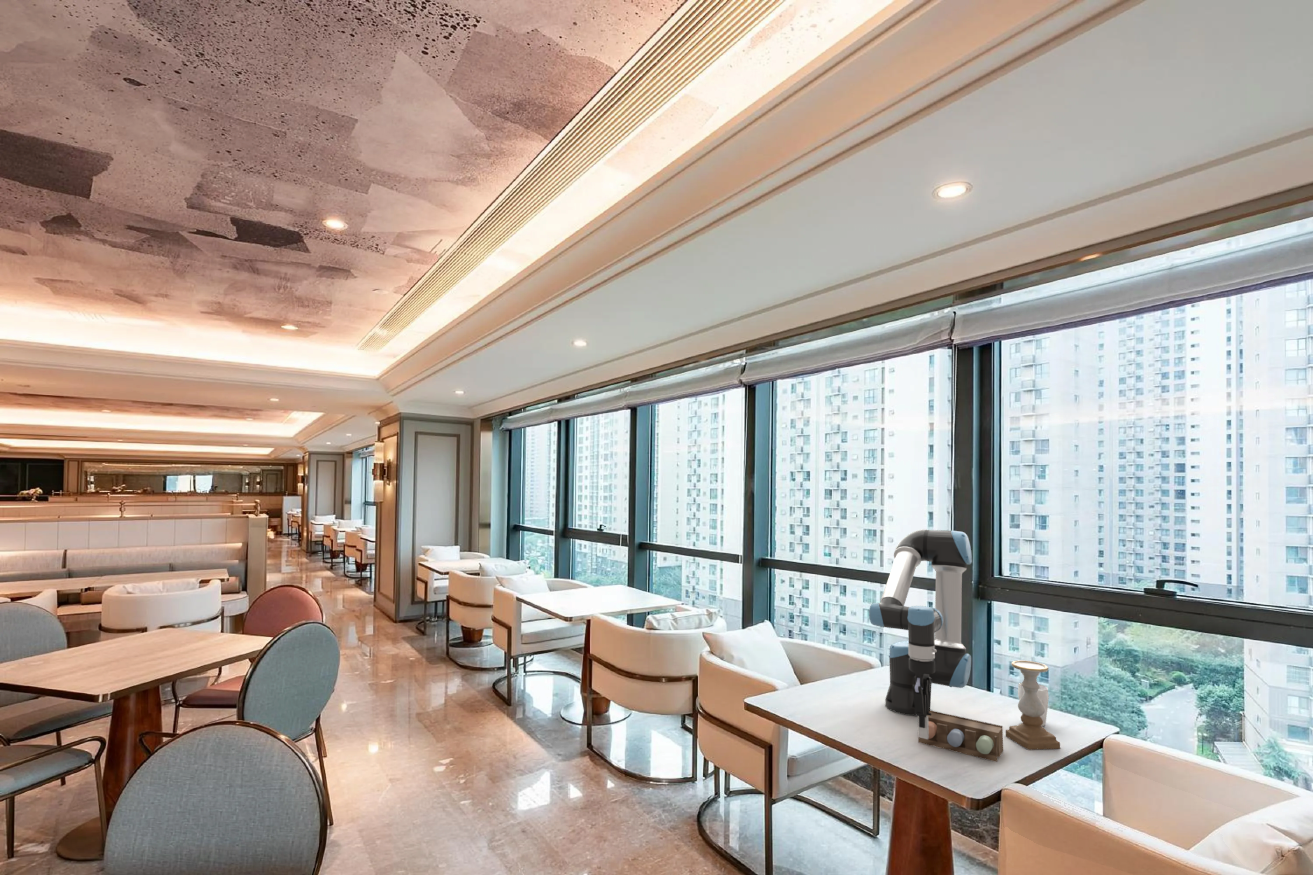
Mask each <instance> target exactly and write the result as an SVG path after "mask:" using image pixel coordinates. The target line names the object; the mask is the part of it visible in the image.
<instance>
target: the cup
mask: <svg viewBox="0 0 1313 875" xmlns="http://www.w3.org/2000/svg"><path fill="white" fill-rule="evenodd" d="M1021 683H1022V682H1020V683H1018V685H1017V687H1018V688H1017V695H1018V700H1019V701H1020V699H1021V698H1022V697H1023V695H1024V693H1025V691H1024V688H1023V686H1022V685H1021ZM1038 684H1039V683H1038ZM1039 686H1040V688H1039V689H1038V691H1037V696H1038V698H1039V699H1040V701H1041V702H1042V704H1043V706H1044V709H1045V712H1044V714H1043V715H1041V716H1040V717H1041V718H1042V720H1043V724H1042V725H1041V726H1042V727H1043V726H1046V723H1047V714H1048V710H1049V709H1048V708H1049V699H1050V697H1049V689H1048V688H1049V687H1047V686H1045V685H1043V684H1039ZM1019 701H1018V702H1019ZM1022 714H1023V713H1022V712H1021V715H1022Z"/></svg>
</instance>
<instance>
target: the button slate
mask: <svg viewBox="0 0 1313 875" xmlns="http://www.w3.org/2000/svg"><path fill="white" fill-rule="evenodd" d="M947 741H948V743H949V744H950V745H951V746H953V747H958V746H960V745H961V743H962V742H963V741H964V734H963V733H962V731H960V730H959V729H953V730H952V731H951V732H950V733H949V734H948V736H947Z"/></svg>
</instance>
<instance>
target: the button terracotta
mask: <svg viewBox="0 0 1313 875" xmlns="http://www.w3.org/2000/svg"><path fill="white" fill-rule="evenodd" d="M928 722H929V738H928V739H931V738H933V737H934V735H935V734H936V733H937V726H936V724H935V723H933V722H931V721H928Z"/></svg>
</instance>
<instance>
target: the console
mask: <svg viewBox="0 0 1313 875" xmlns="http://www.w3.org/2000/svg"><path fill="white" fill-rule="evenodd" d="M929 713H931V716H930V715H927V716H928V721H931V722H933V723H935V724H936V726H937V733H936V734H935V735H934V737H933V738H931V739H924V738H920V737H918V736H917V738H918V743H919V744H924V745H927V746H932V747H934V748H935V747H936V748H940V749H943V750H947V751H952V752H956V753H960V754H963V755H967V756H971V757H976V758H980V759H982V760H988V761H992V762H996V763H997V762H998V758H1000V757H1001V756H1002V754H1003V752H1004V730H1003V725H999V724H994V723H991V722H986V721H982V720H975V719H972V718H967V717H962V716H958V715H952V714H948V713H945V712H939V711H935V710H930V711H929ZM953 729H959V730H960V731H962V733H963V734H964V741H963V742H962V743H961V745H960V746H958V747H953V746H951V745H950V744H949V743H948V741H947V736H948V734H949V733H950V732H951V731H952V730H953ZM983 735H985V736H988V737H990V738H991V739H992V740H993V743H994V746H993V748H992V750H991V751H990V753H988V754H982V753H980V752H979V751H978V750H977V748H976V742H977V741H978V739H979V738H980V737H981V736H983Z"/></svg>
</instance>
